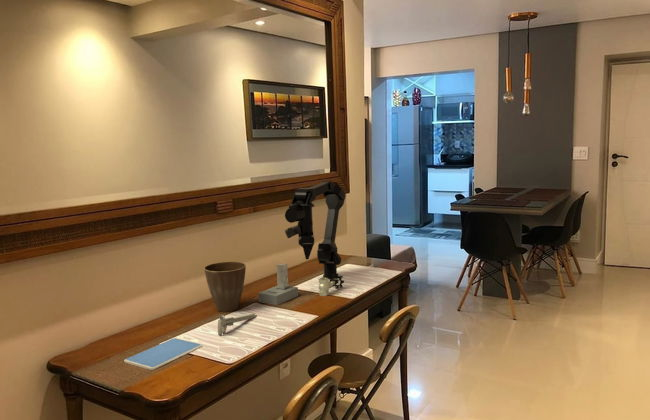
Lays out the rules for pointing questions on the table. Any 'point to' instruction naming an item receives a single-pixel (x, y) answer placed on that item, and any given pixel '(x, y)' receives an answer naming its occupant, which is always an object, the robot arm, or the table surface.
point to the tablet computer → (162, 353)
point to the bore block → (277, 295)
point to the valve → (329, 284)
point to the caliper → (231, 322)
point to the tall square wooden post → (282, 276)
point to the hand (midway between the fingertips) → (307, 256)
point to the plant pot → (226, 284)
